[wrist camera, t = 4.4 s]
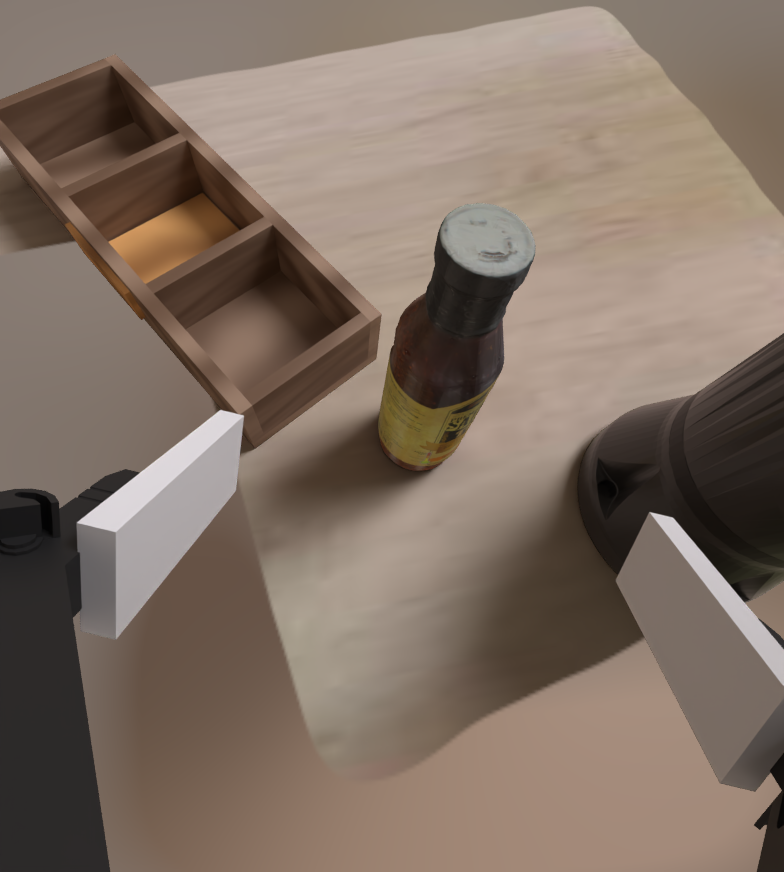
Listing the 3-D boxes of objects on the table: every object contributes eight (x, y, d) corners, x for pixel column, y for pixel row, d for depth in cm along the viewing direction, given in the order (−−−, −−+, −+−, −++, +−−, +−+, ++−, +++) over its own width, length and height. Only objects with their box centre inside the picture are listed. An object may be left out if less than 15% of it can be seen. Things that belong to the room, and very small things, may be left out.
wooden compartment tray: (376, 358, 40) (381, 314, 34) (250, 451, 36) (233, 418, 31) (142, 122, 47) (115, 54, 42) (17, 178, 44) (-31, 111, 38)
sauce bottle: (437, 488, 36) (533, 340, 18) (362, 452, 37) (379, 272, 18) (470, 416, 39) (583, 221, 20) (398, 383, 39) (446, 164, 21)
